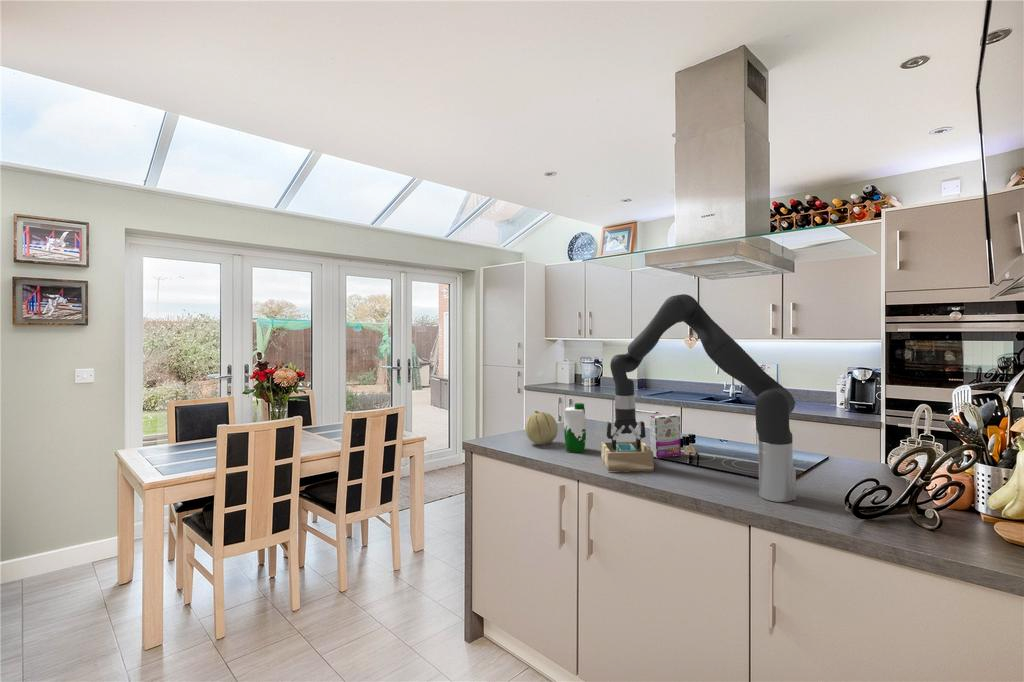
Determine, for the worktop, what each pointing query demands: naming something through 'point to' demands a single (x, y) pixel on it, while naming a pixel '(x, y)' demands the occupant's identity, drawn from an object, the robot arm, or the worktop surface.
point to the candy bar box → (665, 435)
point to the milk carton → (575, 428)
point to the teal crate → (625, 448)
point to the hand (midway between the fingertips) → (626, 449)
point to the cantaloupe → (541, 428)
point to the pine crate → (627, 457)
